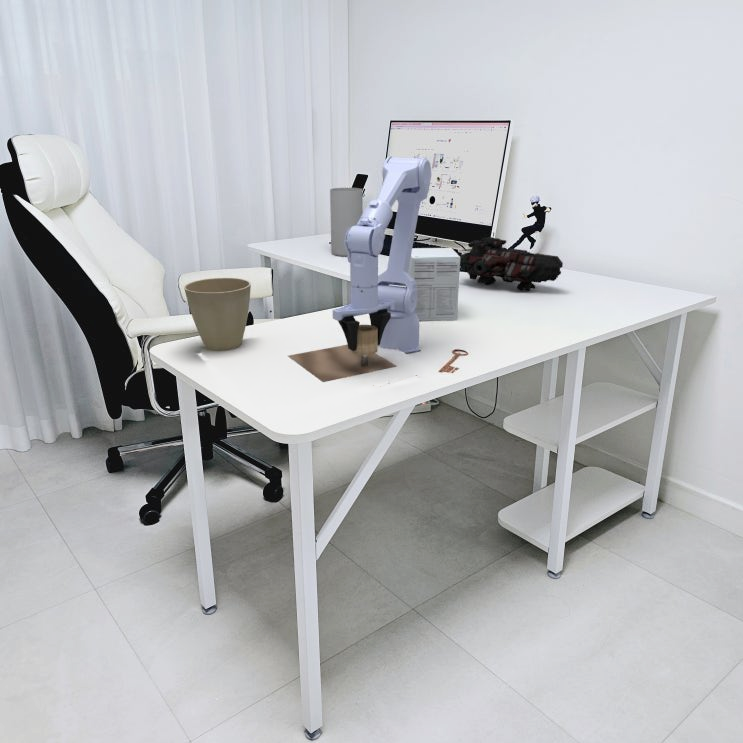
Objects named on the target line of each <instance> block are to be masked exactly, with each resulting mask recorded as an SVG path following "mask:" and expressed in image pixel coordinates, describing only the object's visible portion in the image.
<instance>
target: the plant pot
mask: <svg viewBox="0 0 743 743" xmlns="http://www.w3.org/2000/svg"><path fill="white" fill-rule="evenodd" d="M251 286H252V283H251V281H249V280H247V279H244V278H239V277H214V278H213V277H212V278H203V279H199V280H194V281H191V282H188V283H185V285H184V287H183V288H184V293H185V296H186V300H187V303H188V304H187V305H188V307H189V312H190V314H191V316H192V320H193V322H194V325H195V328H196V330H197V333H198V335H199V338H200V339H201V341H202V343H203V345H204V347H205V348H206V349H208V350H211V351H217V352H218V351H220V352H221V351H228V350H229V351H230V350H234V349H237V348H239V347H240V346H241V345H242V342H243V338H244V335H245V330H246V327H247V321H248V315H249V311H250V303H251V302H250V300H251Z"/></svg>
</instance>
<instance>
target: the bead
mask: <svg viewBox="0 0 743 743" xmlns="http://www.w3.org/2000/svg"><path fill="white" fill-rule="evenodd" d="M378 347H379V345H378V328H377V327H376V326H373V325H371V324H359V327H358V332H357V348H356V351H352V350H351V352H352V353H354V354H357V355H371V354H375V353H376V354H377V353H378V349H379V348H378Z"/></svg>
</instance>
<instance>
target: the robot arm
mask: <svg viewBox="0 0 743 743" xmlns="http://www.w3.org/2000/svg"><path fill="white" fill-rule="evenodd" d="M381 170H382V171H381V172H382V181H383V182H382V184H381V186H380V190H379V192H378V194H377V196H376V199H371V201H369V202H368V203H367V205H366V206H365V209H364V211H363V214H362V216H361V218H360V220H359V221H358V223H357V225H356V226H352V227H351V228H349V229H348V231H347V233H346V237H345V242H344V243H345V249H346V252H347V262H348V263H349V265H350V266H349V267H350V268H349V274H350V275H349V276H350V277H349V279H350V282H349V283H350V303H348V304H347V305H344V306H341V307H338V308H334V309H332V319H333V320H335V321H337V323H338V324H339V326H340V328H341V329H342V332H343V333H344V336H345V339H346V343H347V344H346V345H348V349H350V350H352V351H356V348H357V332H358V327H359V325H361V324H360V323H361V322H360V321H358V320H356V318H355V317H358V316H364V315H367V314H368V316H369V322H370V325H373V326H376V327H377V328H378V347H380V348H382V349H386V350H387V349H388V350H398V351H400V352H402V353H404V354H408V353H409V354H410V353H413V352H418V351H421V347H420V326H421V325H420V321H419V319H418V316H417V315H416V313H415V312H413V311H414V310H415V308H416V304H417V287H418V286H417V283H416V281H415V280H414V279H413V278H412V277H411V276H410V275H409V274H408V270H409V264H410V258H411V252H412V248H413V246H414V240H415V234H416V228H417V223H418V216H419V213H420V212H419V211H420V206H421V202H422V201H424V200H426V199H427V198H428V196H429V195H428V194H429V191H430V186H431V179H432V167H431V162H430V160H429V159H428V157H422V158H421V157H397V156H396V157H393V156H388V157H386V159H385V160H384V162H383V163H382V169H381ZM396 201H397V202H398V205H397V211H396V216H395V217H396V218H395V222H394V227H393V233H392V239H391V244H390V250H389V257H388V262H387V266H386V267H387V268H386V270H385V271H383V272H382V273H380V274H379V255H380V254H381V253H382V251H383V248H384V240H385V239H386V234H385V231H386V230H387V228H388V226H389V223H390V222H391V220H392V218H393V214H394V213H393V209H392V207H393V205H394V204H395V202H396ZM406 286H407V287H406Z"/></svg>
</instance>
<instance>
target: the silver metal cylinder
mask: <svg viewBox="0 0 743 743" xmlns="http://www.w3.org/2000/svg"><path fill="white" fill-rule="evenodd" d="M361 366H362V367H367V366H368V355H361Z"/></svg>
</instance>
